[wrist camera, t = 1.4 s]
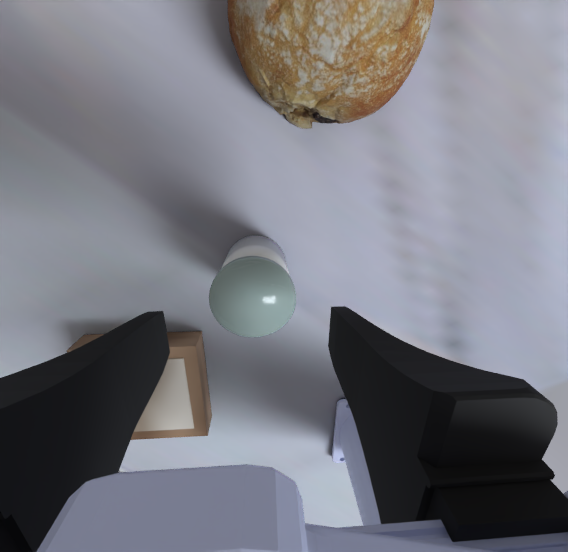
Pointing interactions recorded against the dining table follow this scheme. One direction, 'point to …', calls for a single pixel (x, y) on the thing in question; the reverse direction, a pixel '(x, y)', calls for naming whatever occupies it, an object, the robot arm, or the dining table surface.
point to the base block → (175, 391)
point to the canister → (253, 289)
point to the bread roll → (328, 53)
